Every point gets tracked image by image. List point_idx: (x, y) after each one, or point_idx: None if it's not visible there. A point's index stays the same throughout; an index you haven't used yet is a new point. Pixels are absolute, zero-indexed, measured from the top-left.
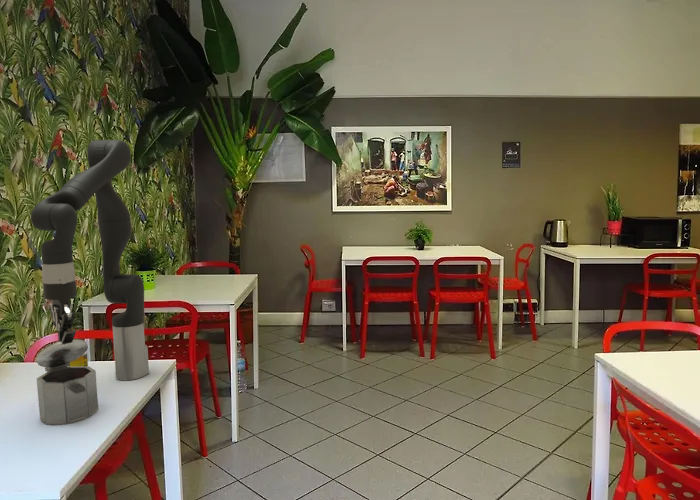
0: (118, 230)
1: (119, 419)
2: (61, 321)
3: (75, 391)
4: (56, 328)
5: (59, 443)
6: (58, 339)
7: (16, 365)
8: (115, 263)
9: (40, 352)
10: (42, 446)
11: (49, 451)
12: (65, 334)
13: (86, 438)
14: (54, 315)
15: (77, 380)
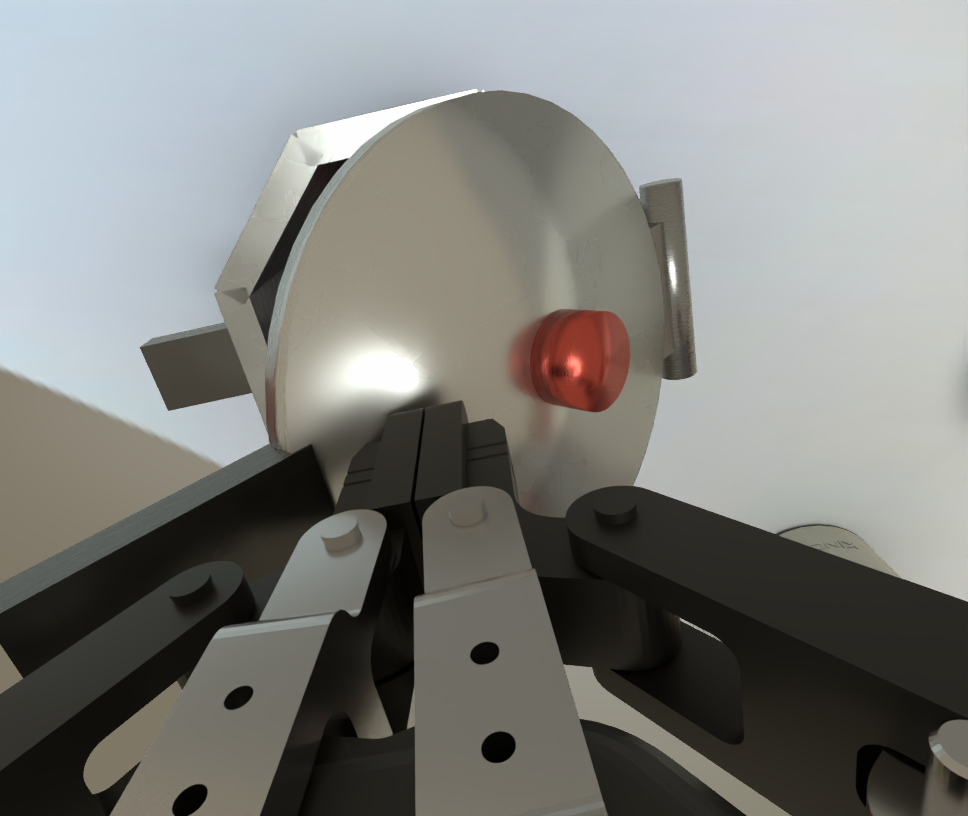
0: None
1: (228, 461)
2: (40, 742)
3: (144, 344)
4: (458, 500)
5: (41, 176)
6: (457, 420)
7: None
8: None
9: (373, 145)
10: (35, 88)
11: None
12: (5, 586)
13: (53, 303)
14: (423, 727)
15: (252, 385)
